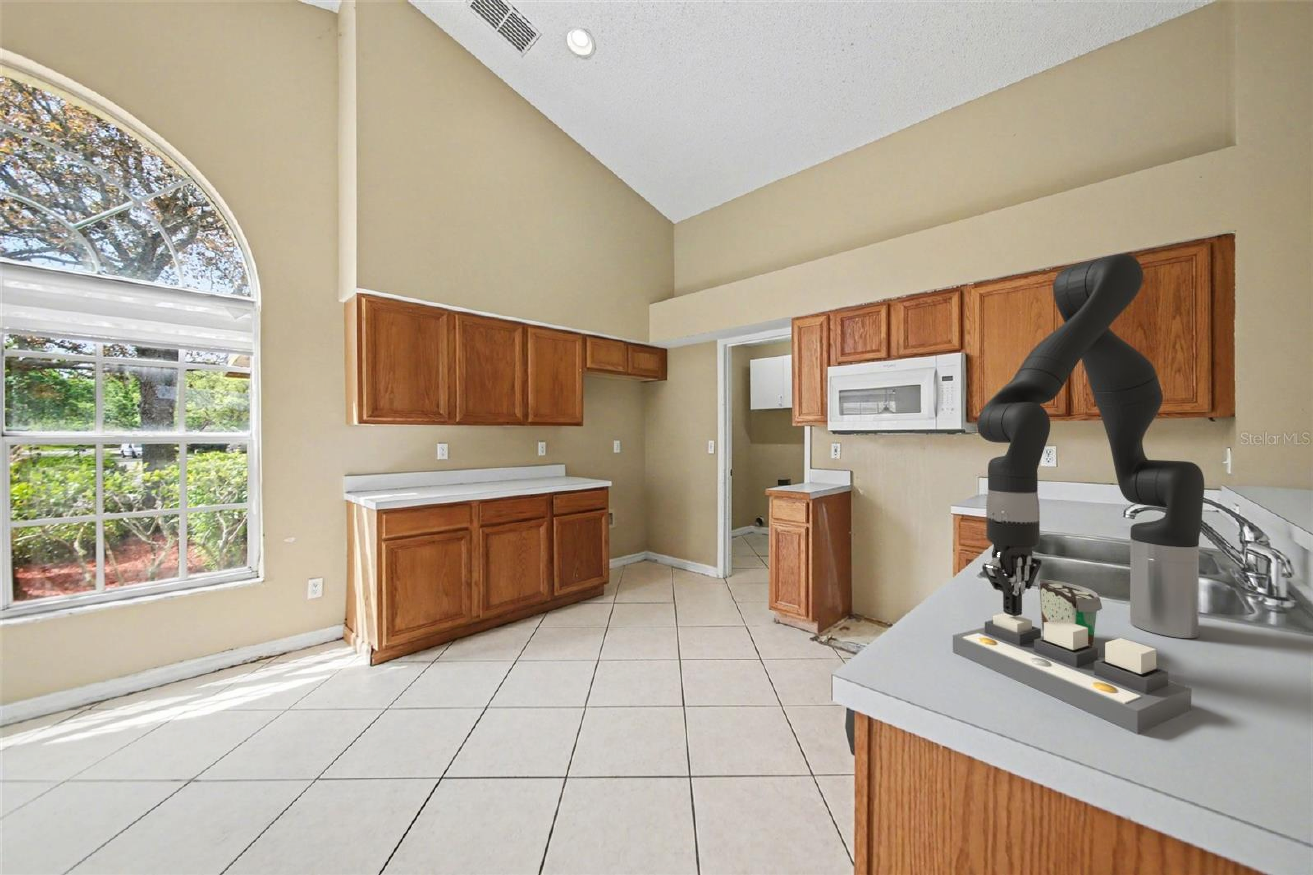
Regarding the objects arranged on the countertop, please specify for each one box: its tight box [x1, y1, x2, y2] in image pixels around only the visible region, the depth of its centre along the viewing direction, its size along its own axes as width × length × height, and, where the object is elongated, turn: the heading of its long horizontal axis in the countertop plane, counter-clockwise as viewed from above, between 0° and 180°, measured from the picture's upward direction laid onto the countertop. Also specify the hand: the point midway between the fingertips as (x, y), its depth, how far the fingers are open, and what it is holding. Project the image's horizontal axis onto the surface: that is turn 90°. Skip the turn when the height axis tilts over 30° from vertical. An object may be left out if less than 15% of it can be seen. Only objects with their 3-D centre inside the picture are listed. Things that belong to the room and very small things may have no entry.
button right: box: [1104, 637, 1157, 674], centre depth 69 cm, size 4×4×3 cm
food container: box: [1037, 579, 1103, 647], centre depth 88 cm, size 12×6×10 cm, turn 168°
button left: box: [992, 612, 1033, 633], centre depth 84 cm, size 4×4×3 cm
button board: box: [952, 619, 1192, 735], centre depth 76 cm, size 14×25×5 cm, turn 22°
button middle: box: [1043, 619, 1088, 650], centre depth 76 cm, size 4×4×3 cm
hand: (1012, 614), depth 84 cm, fingers closed
